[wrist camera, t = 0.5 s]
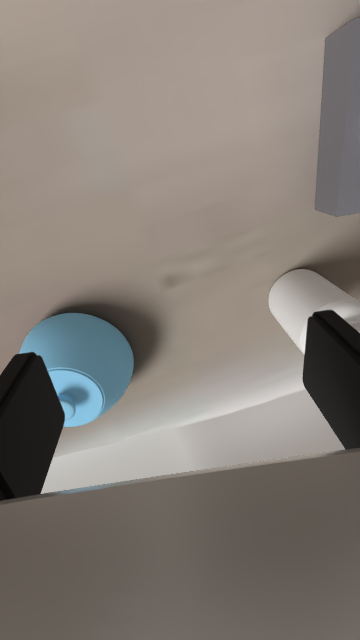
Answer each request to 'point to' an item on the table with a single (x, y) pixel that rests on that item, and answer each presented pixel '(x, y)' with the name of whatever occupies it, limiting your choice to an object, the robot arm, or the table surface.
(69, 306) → the table surface
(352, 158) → the camera body
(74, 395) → the sugar bowl
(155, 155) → the table surface
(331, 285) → the pill bottle
